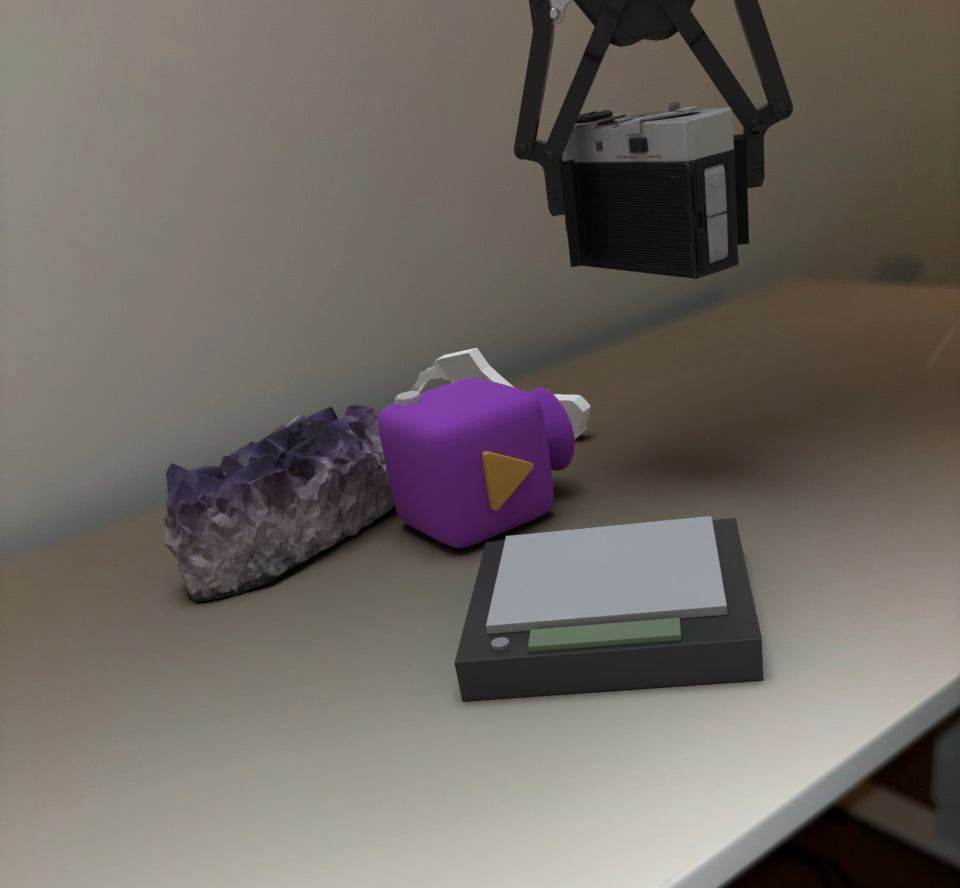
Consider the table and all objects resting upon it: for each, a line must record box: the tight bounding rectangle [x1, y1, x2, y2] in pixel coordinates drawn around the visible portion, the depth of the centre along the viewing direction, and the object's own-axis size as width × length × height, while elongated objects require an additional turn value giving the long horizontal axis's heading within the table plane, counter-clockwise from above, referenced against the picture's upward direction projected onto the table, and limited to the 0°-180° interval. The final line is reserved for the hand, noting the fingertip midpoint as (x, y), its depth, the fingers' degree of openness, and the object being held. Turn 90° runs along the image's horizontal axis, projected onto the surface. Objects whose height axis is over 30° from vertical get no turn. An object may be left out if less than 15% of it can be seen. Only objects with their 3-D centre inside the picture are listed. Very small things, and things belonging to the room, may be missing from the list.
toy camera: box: [378, 378, 576, 549], centre depth 77 cm, size 11×14×10 cm
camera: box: [562, 101, 740, 280], centre depth 72 cm, size 14×9×10 cm, turn 25°
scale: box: [454, 515, 764, 702], centre depth 62 cm, size 16×15×3 cm
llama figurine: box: [393, 347, 591, 440], centre depth 94 cm, size 2×11×18 cm
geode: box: [163, 404, 395, 603], centre depth 79 cm, size 20×12×10 cm, turn 146°
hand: (658, 251), depth 74 cm, fingers closed on camera, 11 cm apart
